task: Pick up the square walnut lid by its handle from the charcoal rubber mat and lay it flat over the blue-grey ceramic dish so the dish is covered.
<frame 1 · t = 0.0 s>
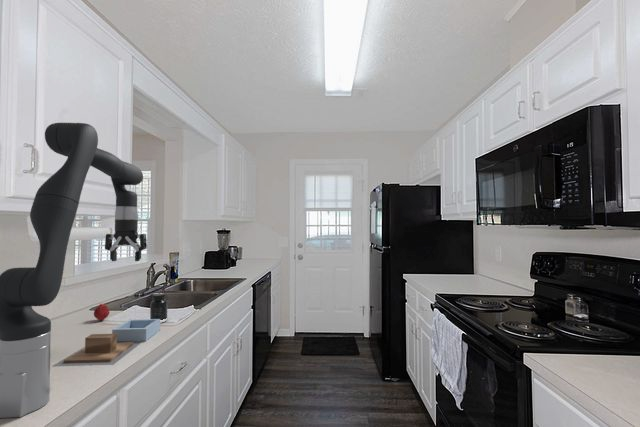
hand: (125, 261, 123), 29 cm above the countertop, tool pointing down, fingers open, 8 cm apart
supplement bottle: (158, 322, 142), on the countertop
red bumpy ovoid: (101, 321, 144), on the countertop
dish: (137, 337, 123), on the countertop
mat: (100, 354, 107), on the countertop
lid: (100, 353, 107), resting on mat
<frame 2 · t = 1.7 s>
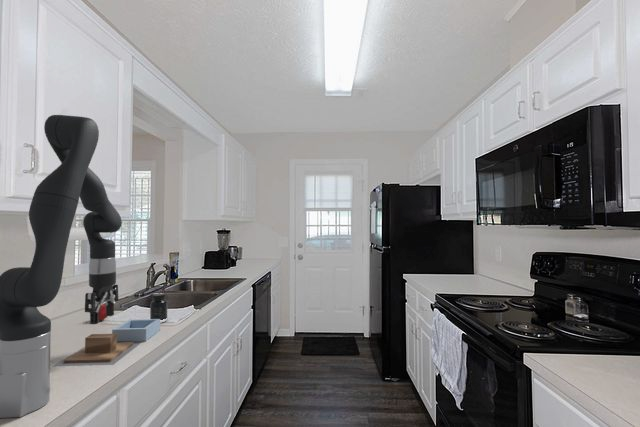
hand: (102, 319, 108), 12 cm above the countertop, tool pointing down, fingers open, 8 cm apart
nothing on the countertop moved.
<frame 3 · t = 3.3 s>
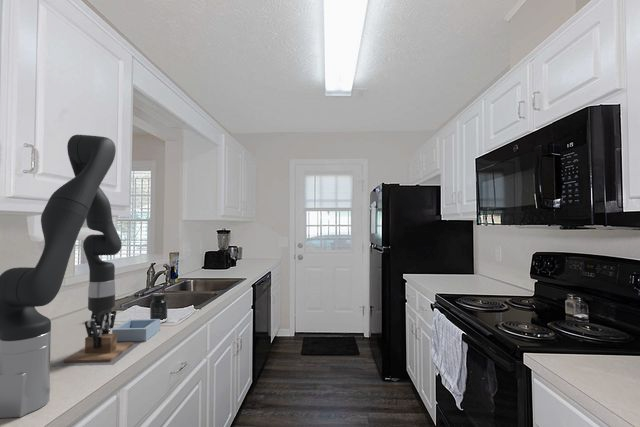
hand: (101, 345, 107), 3 cm above the countertop, tool pointing down, fingers closed on lid, 3 cm apart
lid: (100, 353, 107), resting on mat, touching gripper
everything else where it was.
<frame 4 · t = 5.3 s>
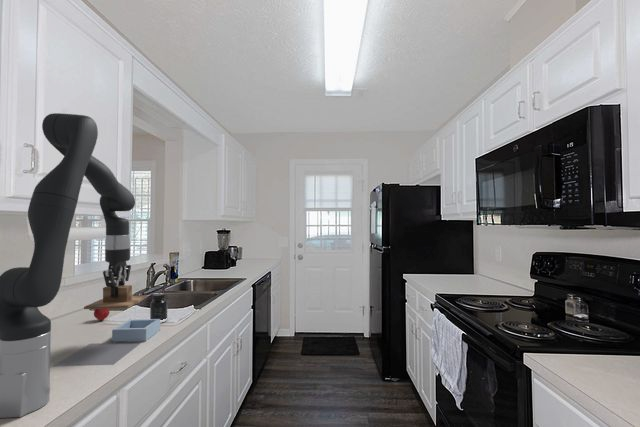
hand: (117, 295, 114), 18 cm above the countertop, tool pointing down, fingers closed on lid, 3 cm apart
lid: (117, 302, 114), point 15 cm above the countertop, touching gripper
everything else where it was.
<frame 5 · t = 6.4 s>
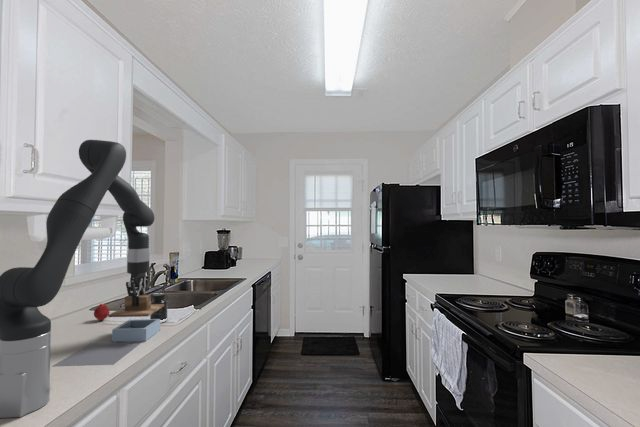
hand: (138, 304, 124), 12 cm above the countertop, tool pointing down, fingers closed on lid, 3 cm apart
lid: (137, 311, 124), point 10 cm above the countertop, touching gripper
everything else where it was.
when the fingers open (9 cm above the countertop, at t = 7.3 s): lid drops 1 cm, resting on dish.
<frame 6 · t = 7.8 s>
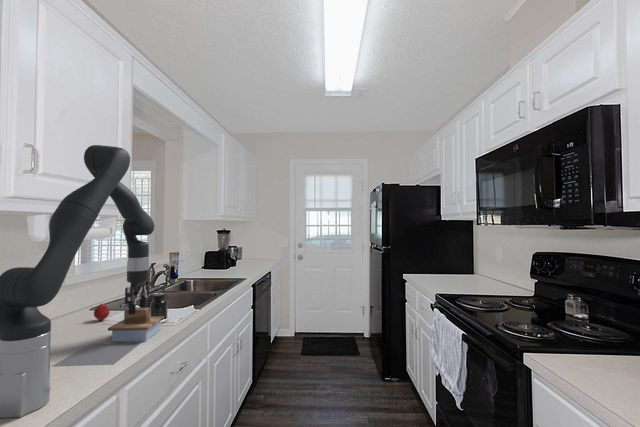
hand: (137, 311, 124), 10 cm above the countertop, tool pointing down, fingers open, 8 cm apart
lid: (137, 324, 124), point 5 cm above the countertop, touching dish
everything else where it was.
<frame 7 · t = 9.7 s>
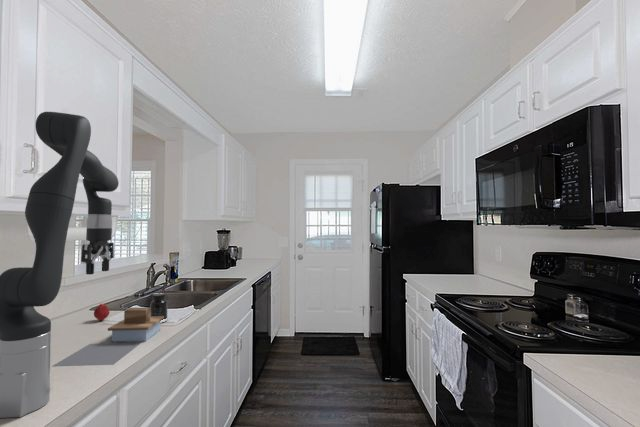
hand: (97, 272, 115), 26 cm above the countertop, tool pointing down, fingers open, 8 cm apart
nothing on the countertop moved.
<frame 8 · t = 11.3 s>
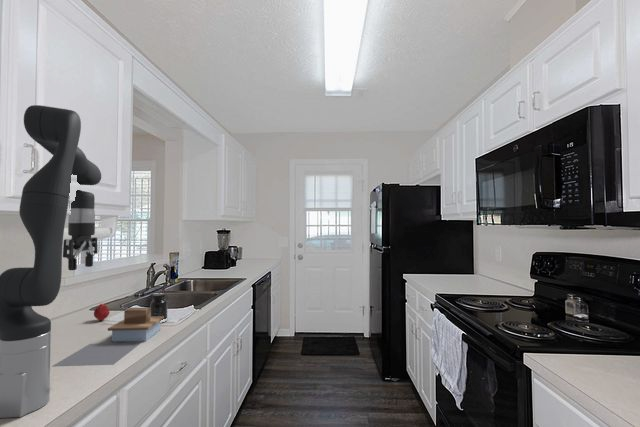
hand: (81, 268, 112), 28 cm above the countertop, tool pointing down, fingers open, 8 cm apart
nothing on the countertop moved.
at the end: lid 0.1 cm off-centre on the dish, point 5.0 cm above the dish's base; lid tilted 0°; the gripper is holding nothing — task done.
